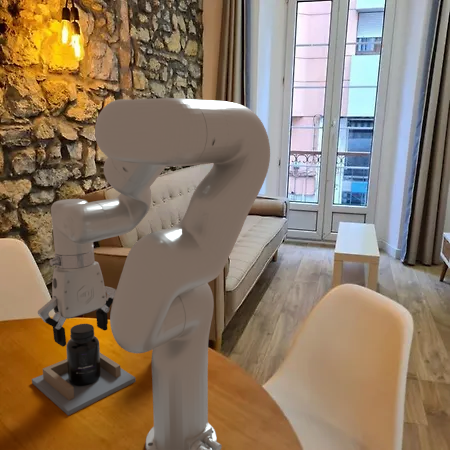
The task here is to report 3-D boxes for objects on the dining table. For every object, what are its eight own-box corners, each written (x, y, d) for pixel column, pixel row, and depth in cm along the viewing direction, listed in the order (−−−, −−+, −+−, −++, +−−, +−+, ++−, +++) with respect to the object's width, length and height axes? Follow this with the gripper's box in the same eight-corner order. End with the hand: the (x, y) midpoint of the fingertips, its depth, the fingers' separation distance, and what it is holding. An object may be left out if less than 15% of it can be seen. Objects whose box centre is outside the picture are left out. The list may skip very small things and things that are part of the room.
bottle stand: (135, 381, 97) (135, 367, 96) (68, 415, 86) (66, 399, 85) (96, 356, 108) (95, 343, 107) (32, 383, 96) (30, 368, 95)
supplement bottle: (83, 391, 92) (79, 338, 89) (61, 381, 95) (57, 330, 93) (107, 375, 98) (104, 325, 95) (86, 366, 101) (83, 318, 98)
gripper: (42, 273, 81) (51, 357, 85) (121, 253, 94) (126, 327, 97) (25, 265, 86) (34, 345, 90) (102, 248, 99) (107, 318, 102)
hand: (82, 336), depth 94 cm, fingers open, 9 cm apart
